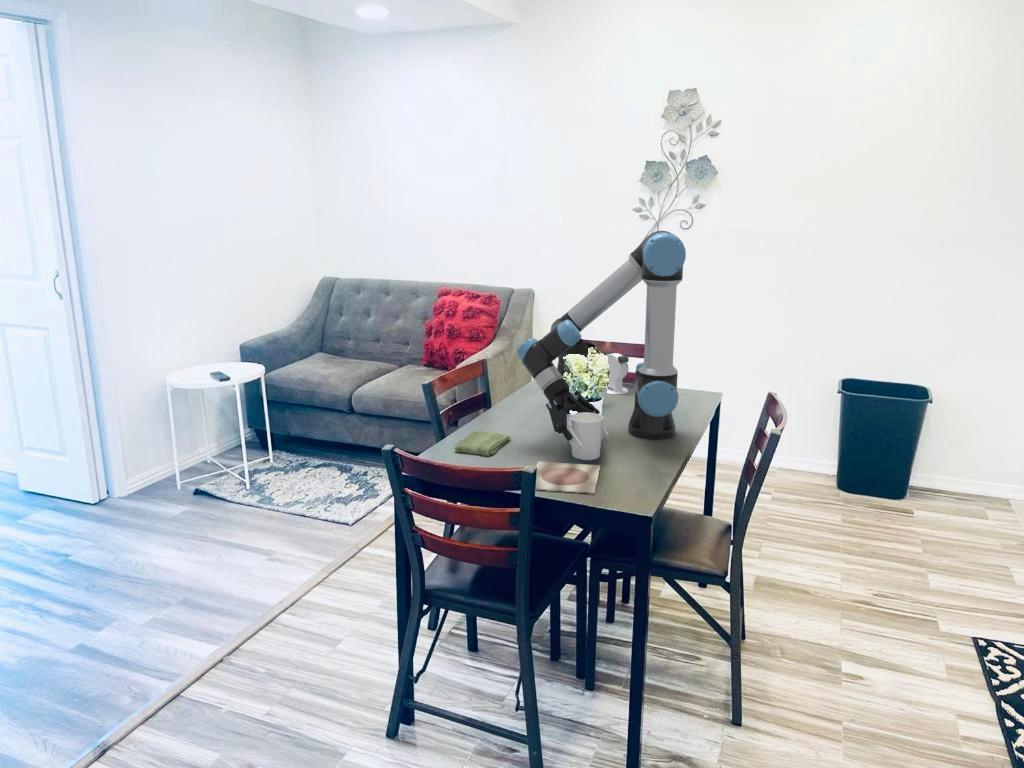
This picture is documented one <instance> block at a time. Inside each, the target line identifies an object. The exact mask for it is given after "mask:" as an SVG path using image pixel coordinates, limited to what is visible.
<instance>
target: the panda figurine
mask: <svg viewBox="0 0 1024 768" xmlns="http://www.w3.org/2000/svg"><path fill="white" fill-rule="evenodd" d="M603 354H604V355H606V356H608V364H609V370H610V373H609V384H608V389H607V394H606V395H610V394H611V396H613V395H612V394H615V396H618V395H619V394H620V395H625V394H627V393H629V389H628V388H626V387H624V385H623V384H624V383H625V382H626V378H625V377H626V376H627V374H628V372H629V364H628V362H629V360H630V358H629V356H628V355H626V354H625V355H623V354H621V353H618V352H617V353H616V352H615V353H614V352H613V350H607V351H603ZM616 394H617V395H616ZM620 395H619V396H620Z"/></svg>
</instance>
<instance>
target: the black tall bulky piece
mask: <svg viewBox="0 0 1024 768" xmlns="http://www.w3.org/2000/svg"><path fill="white" fill-rule="evenodd" d="M589 347H593V348H594V349H595V350H596V351H597V352H599V353H601V351H599V350H597V349H596V346H595V344H593V343H591V342H589V341H585V342H584V340H583V338H581V339H580V340H579V341H578V342H577V343H575V345H574V346H572V347H570V348H569V349H568V350H566V351H565V352H564V353H562V354H561V355H560V356H558V357H557V358H558V361H557V367H556V368H557V370H558V371H559V372H560V374H561V375H562V376H563V374H564V373H565V370H564V362H563V356H564V357H565V356H566V355H568V354H580V355H584V356H585V357H587V355H588V348H589ZM562 379H563V378H562ZM567 414H570V413H569V411H567Z"/></svg>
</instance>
